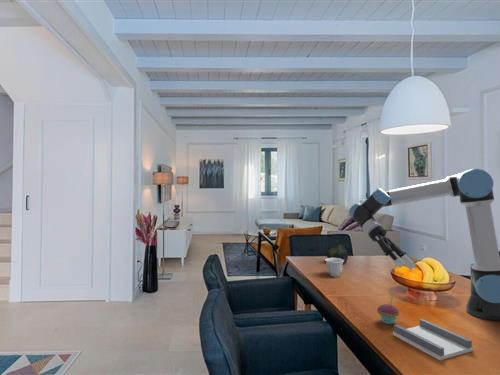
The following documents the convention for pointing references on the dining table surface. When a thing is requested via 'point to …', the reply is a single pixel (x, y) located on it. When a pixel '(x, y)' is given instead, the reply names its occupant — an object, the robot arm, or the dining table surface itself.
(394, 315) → the cupcake
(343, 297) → the dining table surface
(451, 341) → the rail board
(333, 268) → the teacup
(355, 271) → the dining table surface
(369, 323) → the dining table surface
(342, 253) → the squash
